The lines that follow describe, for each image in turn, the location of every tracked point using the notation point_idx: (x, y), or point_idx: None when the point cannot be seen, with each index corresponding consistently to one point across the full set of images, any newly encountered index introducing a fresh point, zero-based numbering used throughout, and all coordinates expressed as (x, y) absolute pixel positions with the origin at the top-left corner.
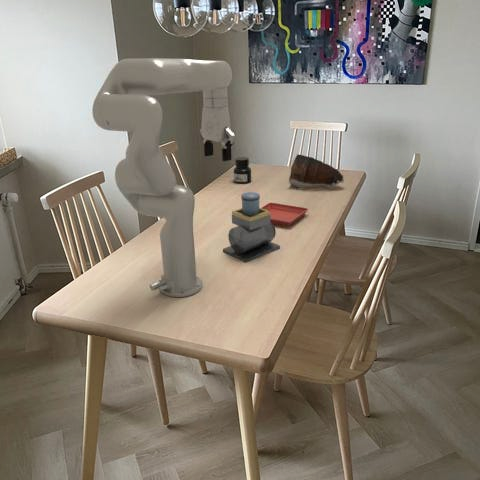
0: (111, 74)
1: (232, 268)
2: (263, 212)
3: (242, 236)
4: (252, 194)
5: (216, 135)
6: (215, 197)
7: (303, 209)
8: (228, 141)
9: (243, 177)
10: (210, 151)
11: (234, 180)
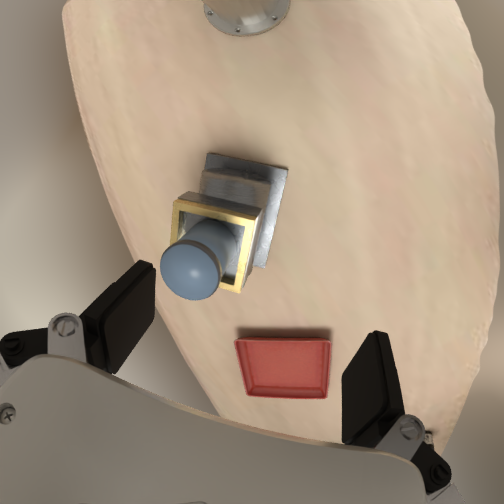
0: None
1: (214, 114)
2: None
3: (209, 175)
4: (186, 281)
5: (31, 418)
6: (443, 384)
7: (256, 393)
8: (8, 351)
9: None
10: (353, 382)
11: (429, 434)
